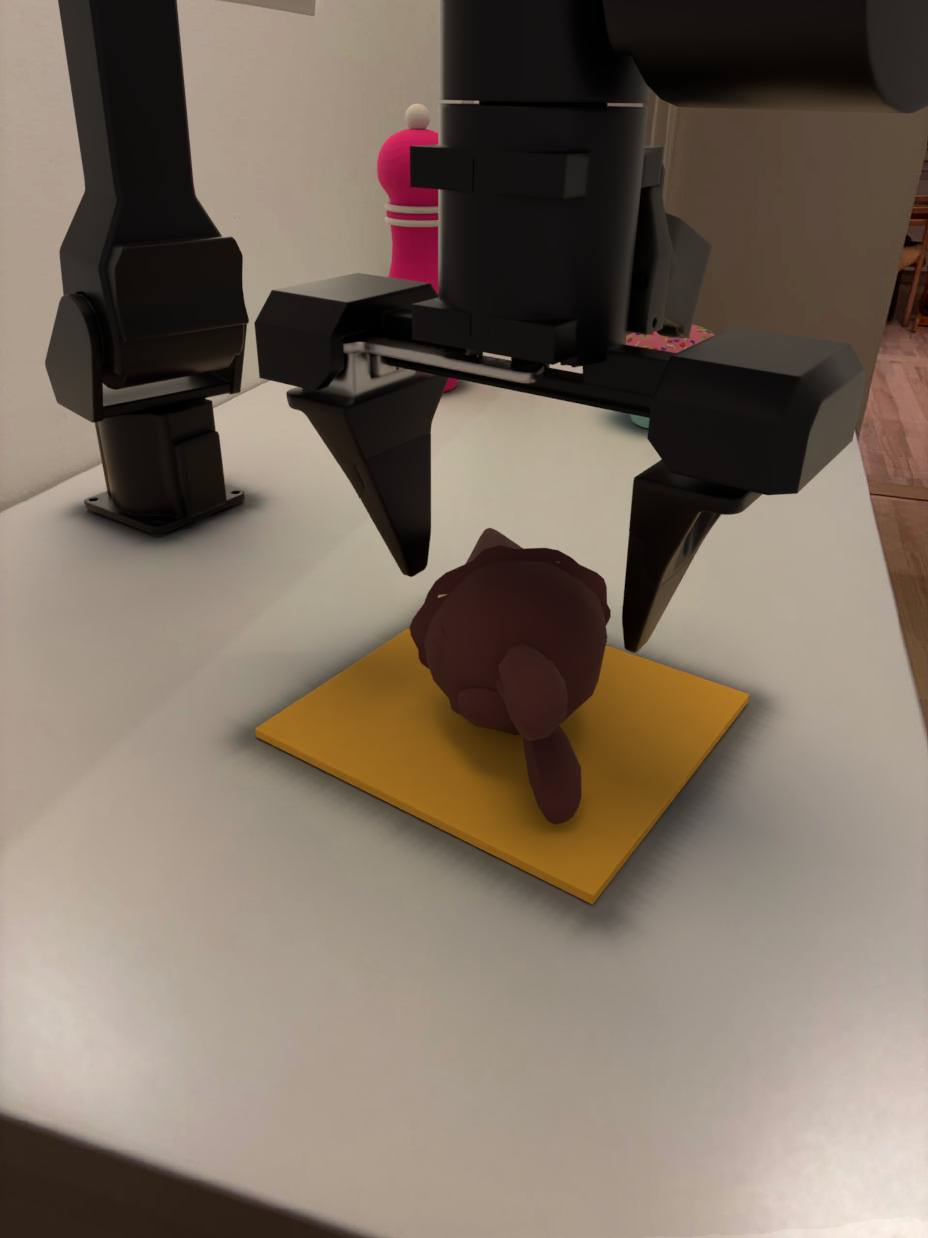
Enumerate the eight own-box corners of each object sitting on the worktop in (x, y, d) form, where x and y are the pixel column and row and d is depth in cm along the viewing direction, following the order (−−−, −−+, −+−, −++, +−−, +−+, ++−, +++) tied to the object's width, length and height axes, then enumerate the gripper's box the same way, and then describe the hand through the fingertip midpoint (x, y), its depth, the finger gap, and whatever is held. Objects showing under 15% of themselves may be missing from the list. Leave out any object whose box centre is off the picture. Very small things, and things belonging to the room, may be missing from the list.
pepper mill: (362, 392, 74) (351, 102, 64) (390, 369, 80) (384, 101, 70) (451, 400, 72) (454, 104, 62) (472, 376, 78) (478, 104, 69)
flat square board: (255, 737, 34) (254, 728, 34) (458, 601, 44) (458, 594, 44) (592, 905, 28) (593, 895, 27) (748, 702, 37) (750, 694, 37)
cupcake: (723, 444, 64) (753, 258, 58) (599, 434, 65) (615, 252, 59) (719, 408, 71) (745, 240, 65) (607, 400, 73) (622, 235, 67)
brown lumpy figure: (383, 482, 38) (397, 720, 26) (558, 436, 38) (656, 657, 26) (425, 615, 42) (455, 877, 30) (585, 576, 42) (680, 824, 30)
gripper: (968, 111, 27) (849, 594, 34) (440, 99, 36) (439, 482, 44) (866, 115, 19) (741, 743, 26) (220, 98, 28) (267, 568, 36)
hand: (518, 606), depth 33 cm, fingers open, 9 cm apart
